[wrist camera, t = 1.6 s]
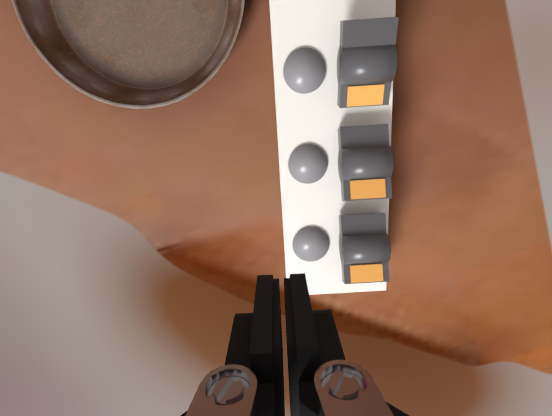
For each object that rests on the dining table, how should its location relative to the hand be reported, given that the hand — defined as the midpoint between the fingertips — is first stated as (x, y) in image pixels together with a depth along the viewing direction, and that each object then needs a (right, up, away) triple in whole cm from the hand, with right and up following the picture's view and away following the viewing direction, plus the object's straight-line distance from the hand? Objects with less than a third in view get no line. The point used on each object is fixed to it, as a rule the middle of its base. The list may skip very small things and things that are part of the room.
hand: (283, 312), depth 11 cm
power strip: (+4, +12, +18) cm, 22 cm away
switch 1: (+6, +14, +13) cm, 20 cm away
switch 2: (+7, 0, +17) cm, 18 cm away
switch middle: (+7, +7, +15) cm, 18 cm away
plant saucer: (-11, +21, +16) cm, 29 cm away
